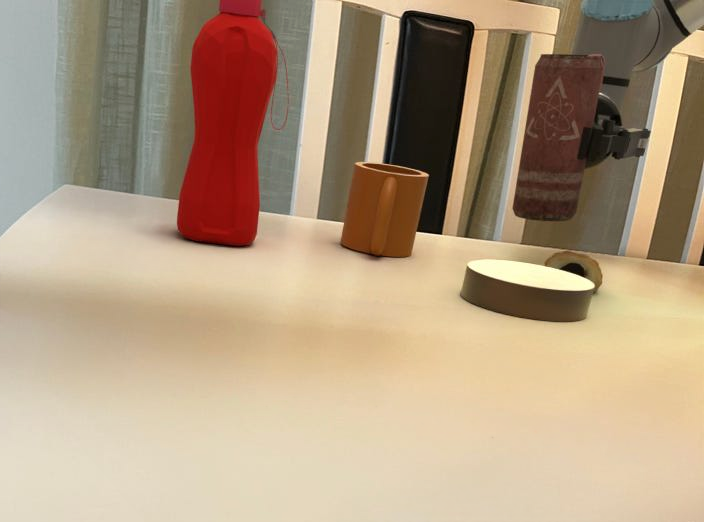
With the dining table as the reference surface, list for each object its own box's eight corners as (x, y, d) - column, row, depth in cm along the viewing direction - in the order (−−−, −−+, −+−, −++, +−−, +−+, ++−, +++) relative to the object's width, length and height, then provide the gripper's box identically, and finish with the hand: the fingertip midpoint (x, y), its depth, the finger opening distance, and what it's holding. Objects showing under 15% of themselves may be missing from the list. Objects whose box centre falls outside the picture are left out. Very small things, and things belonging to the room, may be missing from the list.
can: (588, 221, 98) (621, 55, 90) (527, 222, 97) (556, 54, 89) (559, 211, 103) (588, 53, 95) (501, 211, 102) (526, 51, 94)
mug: (324, 251, 117) (338, 167, 112) (349, 237, 127) (363, 159, 122) (399, 265, 115) (416, 180, 110) (419, 250, 125) (435, 171, 120)
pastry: (542, 273, 121) (551, 239, 119) (599, 283, 120) (609, 250, 118) (537, 286, 113) (547, 251, 111) (598, 298, 112) (609, 262, 110)
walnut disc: (613, 320, 103) (622, 290, 101) (519, 323, 97) (527, 291, 95) (525, 287, 112) (533, 259, 111) (435, 288, 106) (441, 258, 105)
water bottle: (271, 253, 112) (306, -12, 99) (173, 240, 112) (196, -27, 99) (269, 237, 120) (301, -9, 107) (178, 226, 120) (199, -23, 107)
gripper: (635, 175, 114) (649, 199, 94) (516, 157, 117) (506, 176, 97) (657, 101, 110) (677, 109, 91) (534, 84, 113) (527, 88, 93)
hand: (589, 144), depth 94 cm, fingers closed on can
